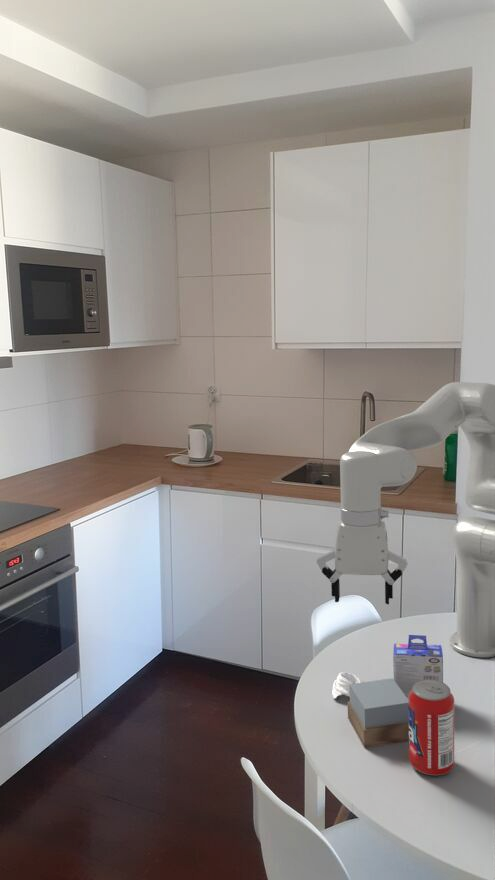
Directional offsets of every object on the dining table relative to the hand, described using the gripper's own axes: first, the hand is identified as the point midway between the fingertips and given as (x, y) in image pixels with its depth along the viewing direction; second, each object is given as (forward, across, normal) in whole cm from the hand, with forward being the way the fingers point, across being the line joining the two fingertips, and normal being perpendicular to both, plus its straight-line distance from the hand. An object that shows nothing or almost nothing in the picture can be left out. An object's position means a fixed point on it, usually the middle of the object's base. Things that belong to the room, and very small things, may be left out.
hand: (362, 600), depth 136 cm
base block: (+25, -3, +4) cm, 26 cm away
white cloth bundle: (+25, +4, -9) cm, 27 cm away
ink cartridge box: (+25, -11, -6) cm, 28 cm away
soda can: (+25, -12, +14) cm, 31 cm away
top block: (+21, -3, +4) cm, 22 cm away
